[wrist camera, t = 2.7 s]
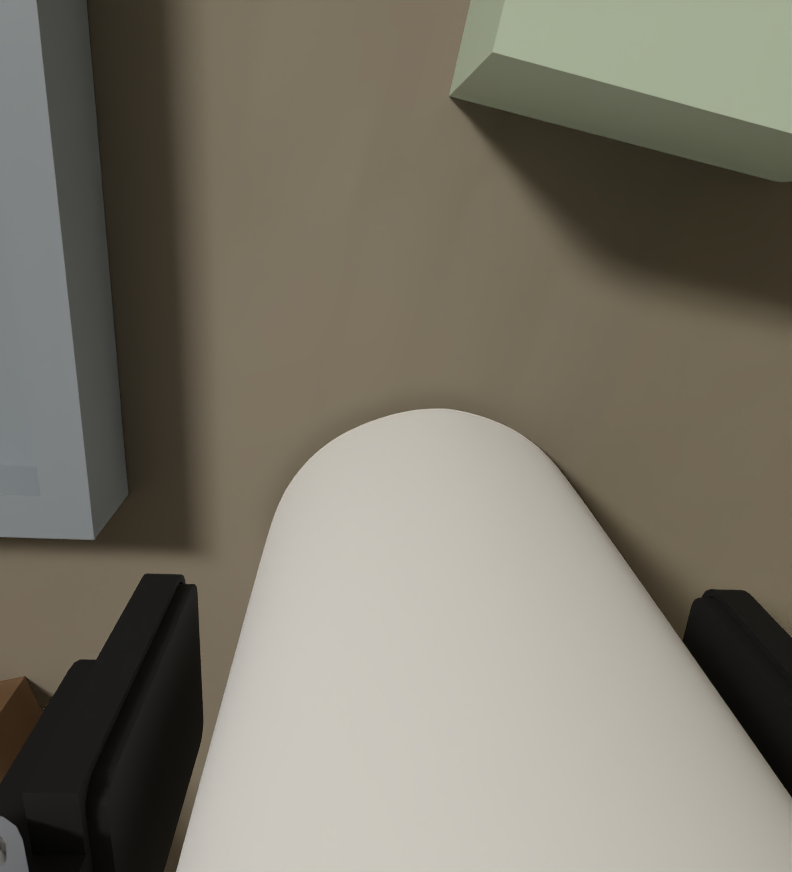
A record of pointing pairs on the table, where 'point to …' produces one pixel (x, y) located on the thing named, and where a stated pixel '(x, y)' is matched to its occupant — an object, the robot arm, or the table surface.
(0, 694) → the walnut block
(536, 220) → the table surface
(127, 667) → the robot arm
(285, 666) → the can
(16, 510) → the tray
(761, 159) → the sage block
